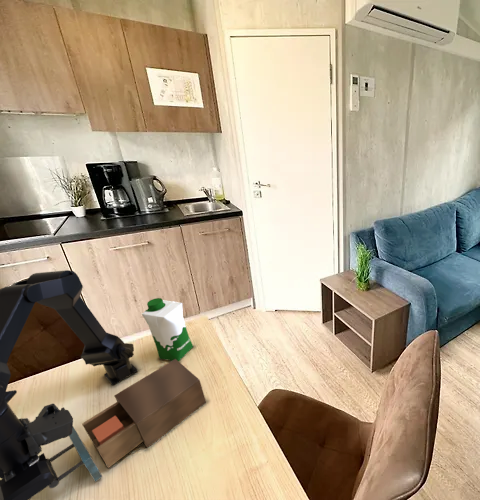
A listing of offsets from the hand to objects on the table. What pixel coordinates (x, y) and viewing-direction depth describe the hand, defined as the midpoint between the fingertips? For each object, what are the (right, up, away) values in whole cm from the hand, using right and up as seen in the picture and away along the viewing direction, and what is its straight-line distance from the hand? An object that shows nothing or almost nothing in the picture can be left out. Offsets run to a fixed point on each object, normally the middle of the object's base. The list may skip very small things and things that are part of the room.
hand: (37, 485), depth 56 cm
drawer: (+6, +1, +9) cm, 11 cm away
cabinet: (+13, +4, +19) cm, 24 cm away
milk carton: (+5, +12, +38) cm, 40 cm away
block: (+7, +2, +10) cm, 12 cm away
